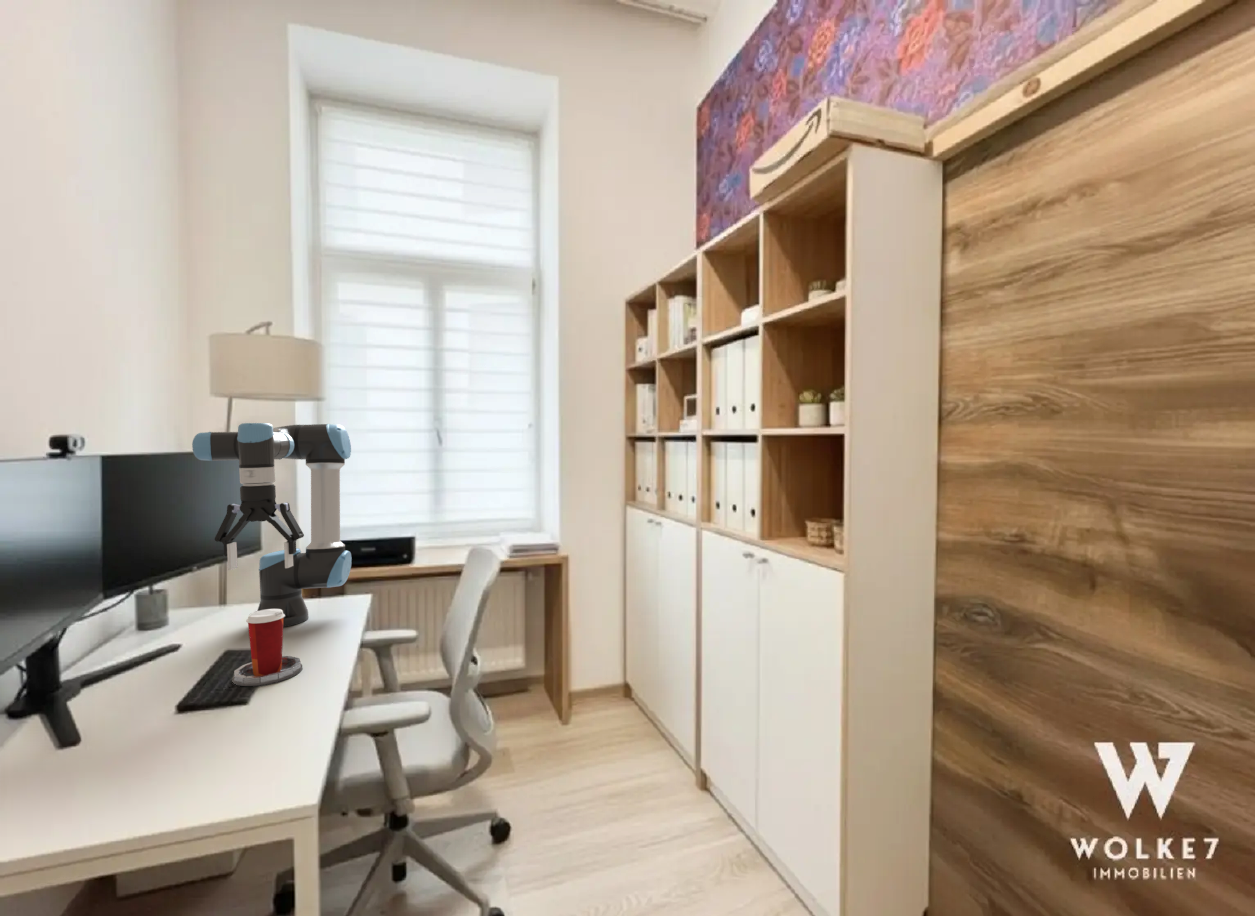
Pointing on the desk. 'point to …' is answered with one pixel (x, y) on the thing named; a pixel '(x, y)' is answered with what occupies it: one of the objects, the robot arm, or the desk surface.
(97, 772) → the desk surface
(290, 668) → the ring seat
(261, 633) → the coffee cup
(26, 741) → the desk surface
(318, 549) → the robot arm
